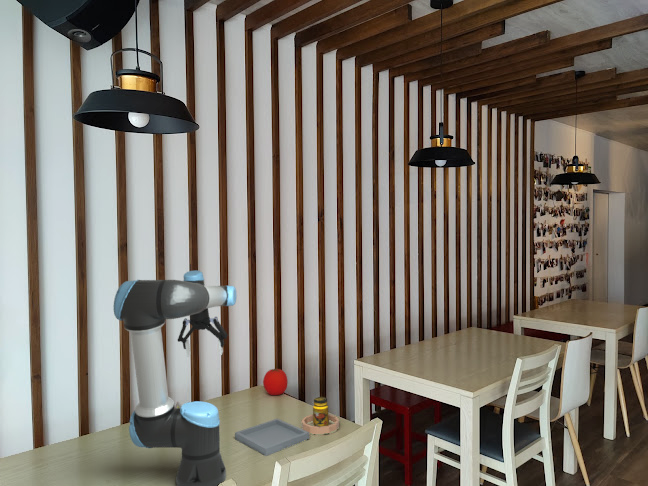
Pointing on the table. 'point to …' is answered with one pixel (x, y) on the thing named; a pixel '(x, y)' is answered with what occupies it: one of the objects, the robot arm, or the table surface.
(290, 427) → the tray
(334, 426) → the ring holder
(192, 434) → the robot arm
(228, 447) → the table surface
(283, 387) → the tomato
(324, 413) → the condiment
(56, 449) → the table surface
